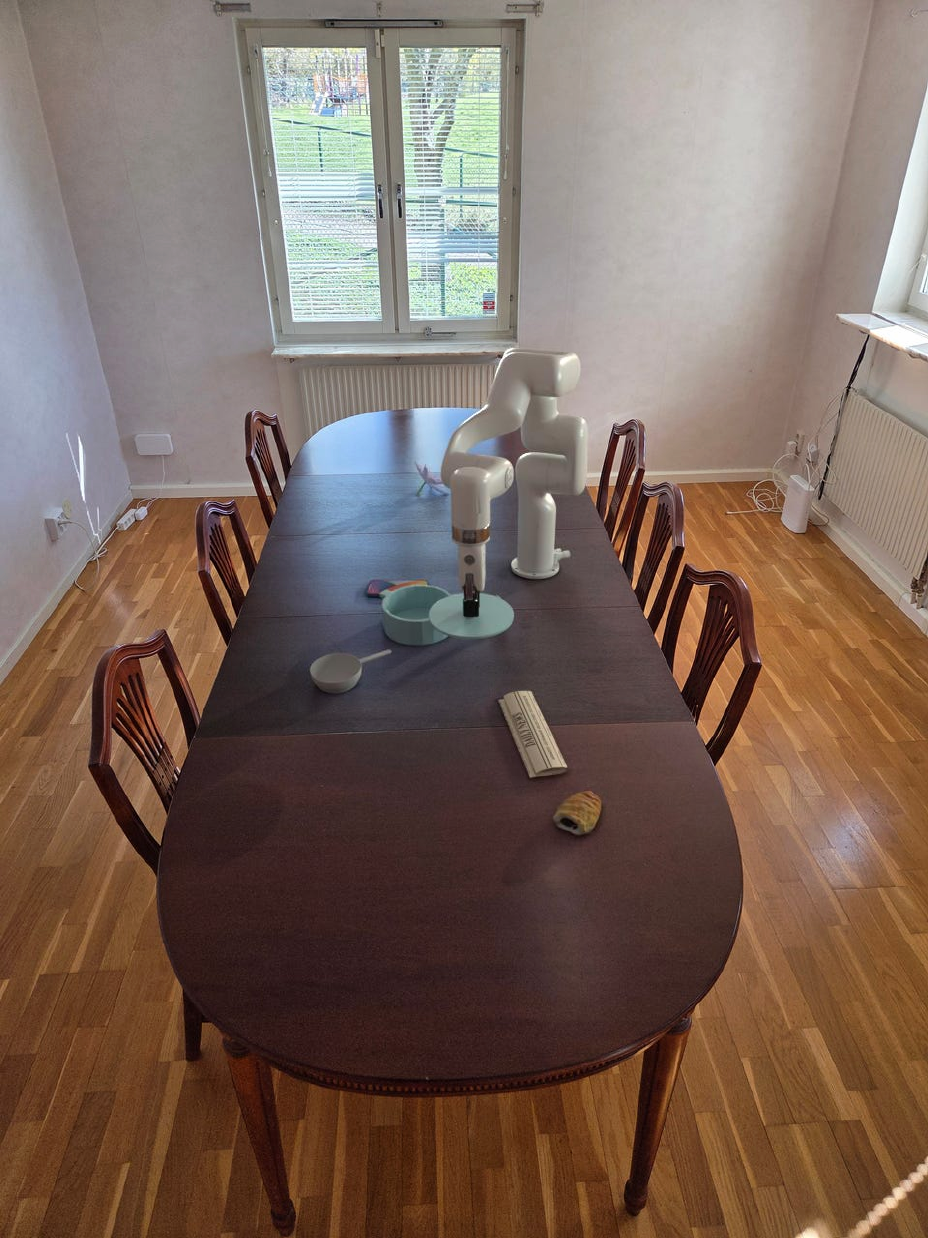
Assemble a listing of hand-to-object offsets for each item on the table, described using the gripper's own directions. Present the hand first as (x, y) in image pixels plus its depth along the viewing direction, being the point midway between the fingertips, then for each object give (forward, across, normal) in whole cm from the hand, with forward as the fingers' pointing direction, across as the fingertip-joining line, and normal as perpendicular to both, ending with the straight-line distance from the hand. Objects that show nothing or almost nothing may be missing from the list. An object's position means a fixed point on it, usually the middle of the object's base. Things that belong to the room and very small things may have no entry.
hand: (471, 611), depth 169 cm
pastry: (+16, -42, -20) cm, 49 cm away
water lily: (+15, +98, +18) cm, 100 cm away
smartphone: (+15, +34, +21) cm, 43 cm away
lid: (+1, 0, 0) cm, 1 cm away
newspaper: (+15, -20, -13) cm, 29 cm away
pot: (+15, +18, +14) cm, 27 cm away
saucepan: (+15, -3, +25) cm, 30 cm away
